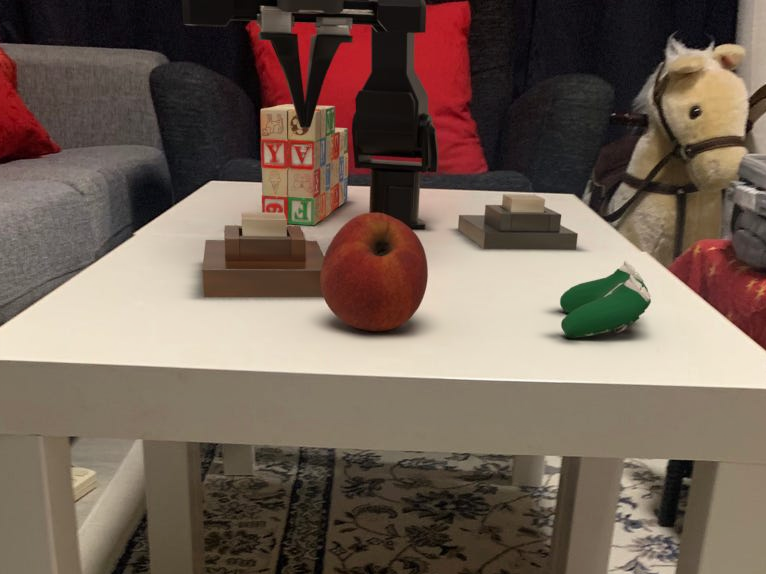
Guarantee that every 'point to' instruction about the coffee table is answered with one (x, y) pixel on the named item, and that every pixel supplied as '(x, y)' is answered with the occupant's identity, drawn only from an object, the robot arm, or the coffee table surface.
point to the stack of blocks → (302, 164)
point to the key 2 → (523, 203)
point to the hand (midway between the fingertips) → (305, 127)
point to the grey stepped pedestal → (517, 230)
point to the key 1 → (263, 224)
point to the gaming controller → (605, 303)
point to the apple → (374, 273)
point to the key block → (262, 265)
